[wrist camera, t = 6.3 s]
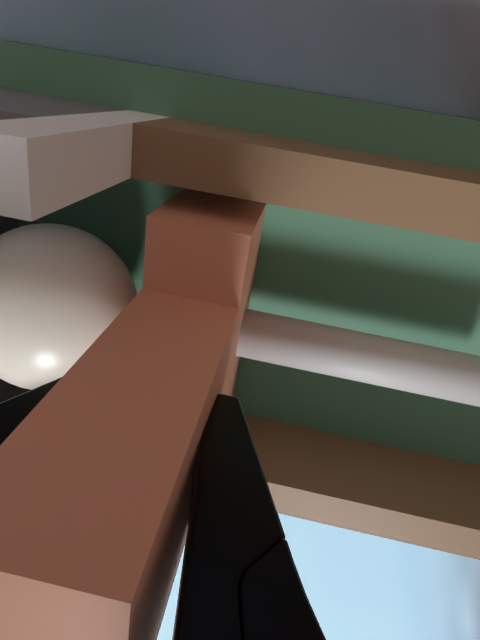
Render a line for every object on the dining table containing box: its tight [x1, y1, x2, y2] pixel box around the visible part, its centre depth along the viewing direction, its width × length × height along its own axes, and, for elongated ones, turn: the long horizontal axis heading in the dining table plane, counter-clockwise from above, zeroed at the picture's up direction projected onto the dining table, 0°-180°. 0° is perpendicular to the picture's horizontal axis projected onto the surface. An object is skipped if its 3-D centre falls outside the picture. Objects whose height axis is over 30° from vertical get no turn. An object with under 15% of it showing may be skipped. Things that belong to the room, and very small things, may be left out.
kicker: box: [0, 188, 480, 640], centre depth 8 cm, size 8×6×9 cm
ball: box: [0, 223, 137, 390], centre depth 11 cm, size 4×4×4 cm
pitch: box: [0, 40, 480, 560], centre depth 10 cm, size 24×11×7 cm, turn 82°
